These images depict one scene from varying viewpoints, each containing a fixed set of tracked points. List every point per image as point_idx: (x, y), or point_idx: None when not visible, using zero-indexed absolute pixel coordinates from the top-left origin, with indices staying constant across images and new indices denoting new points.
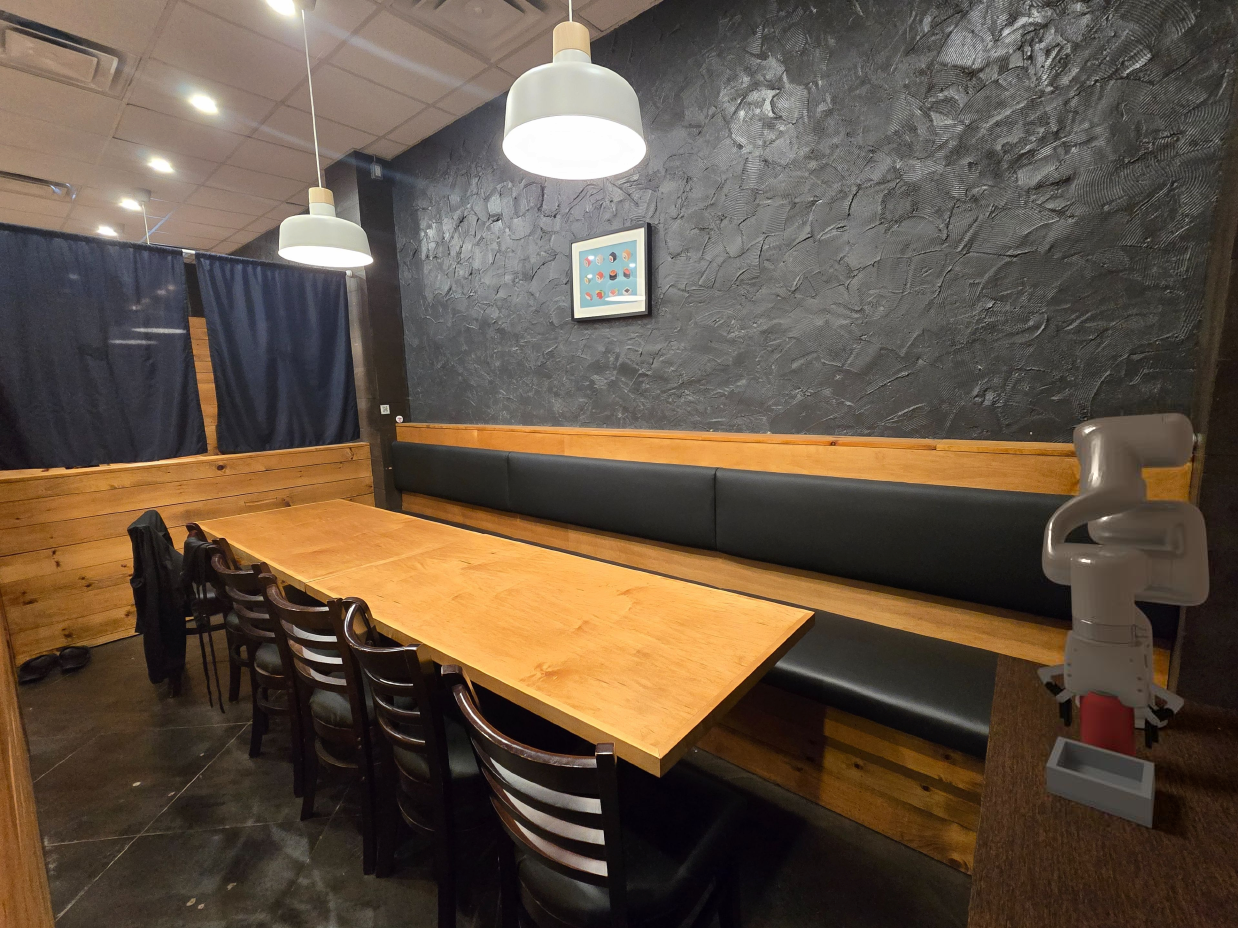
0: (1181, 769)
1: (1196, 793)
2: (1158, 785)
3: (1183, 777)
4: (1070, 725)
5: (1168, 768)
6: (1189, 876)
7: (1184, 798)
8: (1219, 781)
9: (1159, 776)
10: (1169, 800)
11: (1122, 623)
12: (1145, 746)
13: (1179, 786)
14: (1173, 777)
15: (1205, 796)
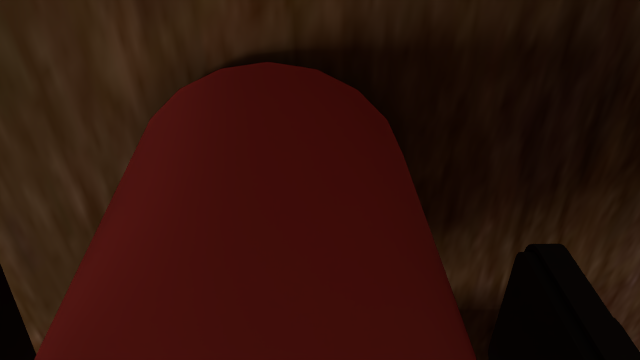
0: (634, 16)
1: (607, 241)
2: (471, 270)
3: (607, 119)
4: (30, 343)
5: (562, 56)
6: None
7: None
8: None
9: (492, 186)
10: (487, 348)
11: None
12: (489, 357)
13: (556, 225)
14: (556, 153)
15: (635, 243)
